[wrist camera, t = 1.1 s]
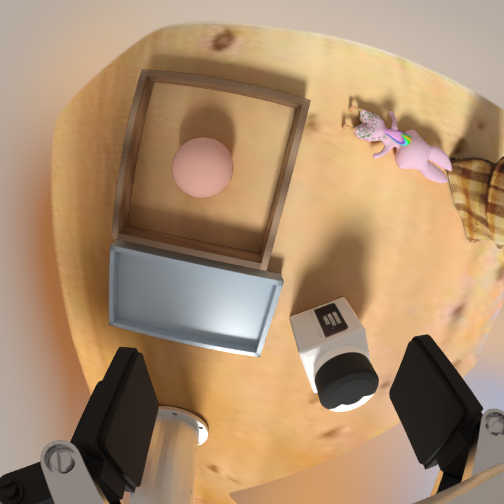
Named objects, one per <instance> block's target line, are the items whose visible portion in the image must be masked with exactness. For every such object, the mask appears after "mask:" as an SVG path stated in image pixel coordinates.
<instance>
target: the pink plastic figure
mask: <svg viewBox="0 0 504 504" xmlns="http://www.w3.org/2000/svg"><path fill="white" fill-rule="evenodd" d="M352 109H357V110H359V112H360V121H361V125H358V126H356V127H350V126H348V125H347V124H346V123H345V122H344V123H345V124H344V125H343V129H342V130H344V129H345V128H351V129H353V131H354V133H355V135H356V137H357V138H359V139H361V140H364V141H378V140H380V141H381V142H382V143H383V145H384V148H383V150H382V151H381V152H379V153H375V154H374V155H373V158H375V159H377V158H379V157H382V156H384V155H385V154H387V153H388V152H389V151H390V150H391V149H392V148H393V147H396V154H395V160H396V163H397V165H398V167H399V168H402V169H417V170H419V171H420V172H421V173H422V174H423V176H425V177H426V178H428V179H430V180H432V181H435V182H438V183H446V182H448V178H447V177H446V176H445V174H444V173H443V172H442V171H441V170H440V169H439V168H437V167H436V166H435V165H434V164H432V163H430V162H429V161H428V160H431V161H432V162H434V163H436V164H437V165H439V166H440V167H442V168H444V169H446V170H449V171H452V166H451V162H450V159H449V157H448V156H447V155H446V153H445V152H443V151H442V150H441V149H440V148H438V147H437V146H431V145H428V144H427V143H426V142H425V141H424V140H423V139H422V138H421V137H420V136H419V134H418V133H417V132H416V131H415V130H408V131H406V132H405V133H404V132H402V131H399V130H398V128H397V121H396V118H395V115H394V113H393V111H390V112H389V115H390V117H391V119H392V127H391V128H390V129H388V128H386V125H385V123H384V121H383V120H382V119H381V117H379V116H378V115H377V114H375V113H372V112H370V111H367V110H364V109H362V108H357V107H355V106H354V105H351V107H350V111H352ZM350 111H348V112H350Z"/></svg>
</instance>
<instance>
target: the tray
mask: <svg viewBox="0 0 504 504" xmlns="http://www.w3.org/2000/svg"><path fill="white" fill-rule="evenodd" d="M283 283H284V281H283V278H282V275H281V274H279V273H274V272H269V271H264V270H260V269H255V268H250V267H245V266H240V265H235V264H230V263H225V262H221V261H216V260H211V259H206V258H201V257H197V256H192V255H187V254H183V253H178V252H173V251H169V250H164V249H159V248H155V247H150V246H146V245H141V244H137V243H132V242H127V241H123V240H119V239H117V240H116V241H115V242H114V243H112V244H111V246H110V265H109V325H112V326H115V327H119V328H123V329H126V330H130V331H134V332H137V333H141V334H145V335H149V336H153V337H157V338H162V339H166V340H170V341H175V342H179V343H184V344H188V345H193V346H198V347H203V348H208V349H214V350H219V351H225V352H230V353H236V354H242V355H249V356H255V357H260V354H261V351H262V348H263V345H264V342H265V339H266V336H267V333H268V330H269V327H270V324H271V321H272V318H273V315H274V311H275V308H276V305H277V302H278V299H279V295H280V292H281V289H282V286H283Z"/></svg>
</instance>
